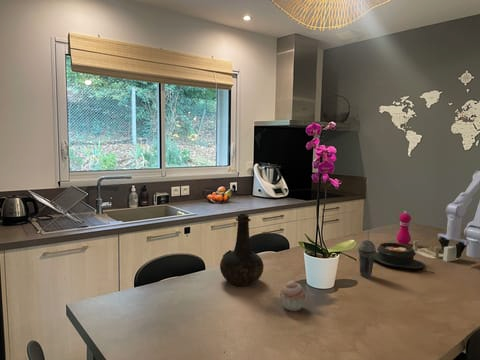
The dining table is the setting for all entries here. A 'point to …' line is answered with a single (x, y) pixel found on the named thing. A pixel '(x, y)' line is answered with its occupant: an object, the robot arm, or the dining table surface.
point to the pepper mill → (404, 229)
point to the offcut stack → (433, 249)
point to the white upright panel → (449, 253)
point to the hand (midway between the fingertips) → (451, 255)
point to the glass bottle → (242, 258)
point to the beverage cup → (366, 257)
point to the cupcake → (292, 296)
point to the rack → (424, 251)
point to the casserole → (397, 256)
